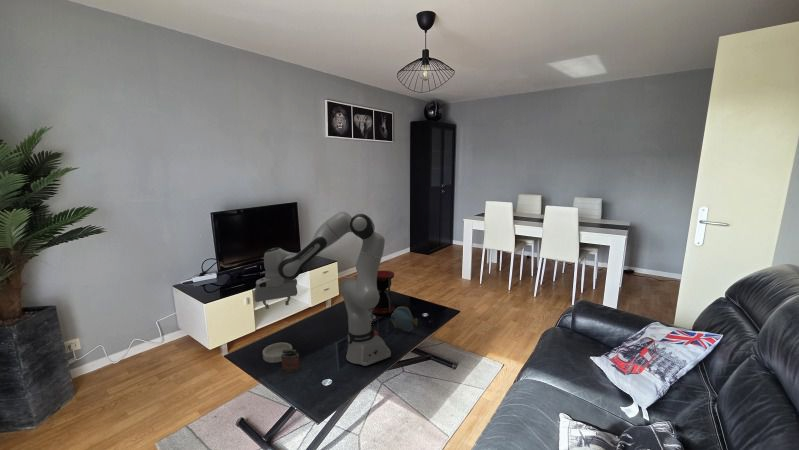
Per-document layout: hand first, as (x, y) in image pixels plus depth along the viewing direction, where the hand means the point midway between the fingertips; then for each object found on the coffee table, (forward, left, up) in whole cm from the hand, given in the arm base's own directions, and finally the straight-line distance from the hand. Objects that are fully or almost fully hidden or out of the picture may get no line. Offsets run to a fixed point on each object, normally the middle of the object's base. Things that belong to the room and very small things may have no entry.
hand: (277, 306), depth 169 cm
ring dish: (+1, +2, -25) cm, 25 cm away
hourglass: (-68, -29, -25) cm, 78 cm away
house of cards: (-56, -15, -25) cm, 64 cm away
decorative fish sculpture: (-68, +4, -25) cm, 72 cm away
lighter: (-3, +18, -25) cm, 31 cm away
